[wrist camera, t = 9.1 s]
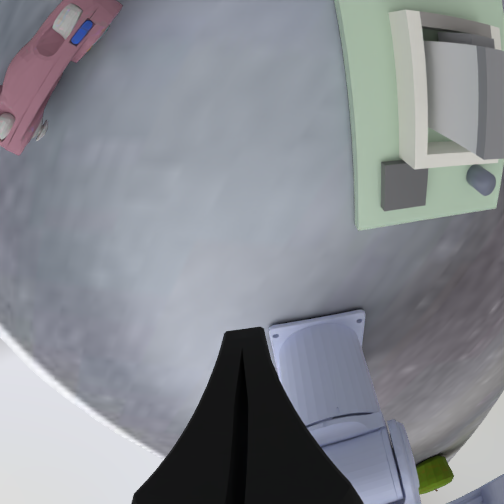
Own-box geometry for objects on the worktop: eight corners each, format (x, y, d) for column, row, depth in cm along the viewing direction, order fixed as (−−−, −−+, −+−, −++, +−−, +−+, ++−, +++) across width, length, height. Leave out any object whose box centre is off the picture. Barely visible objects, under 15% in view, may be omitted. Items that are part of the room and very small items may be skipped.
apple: (424, 456, 62) (433, 491, 53) (454, 447, 64) (464, 479, 54) (400, 471, 69) (407, 502, 60) (430, 463, 71) (438, 492, 61)
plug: (464, 122, 15) (529, 157, 10) (420, 123, 15) (483, 159, 11) (461, 36, 12) (533, 47, 7) (414, 30, 12) (483, 33, 7)
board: (490, 203, 19) (510, 221, 17) (354, 224, 20) (368, 248, 18) (493, -3, 10) (521, -3, 8) (327, -30, 11) (343, -43, 9)
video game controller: (43, 119, 16) (23, 185, 13) (-9, 93, 13) (-48, 155, 9) (137, -2, 13) (142, 17, 9) (81, -39, 9) (56, -38, 6)
